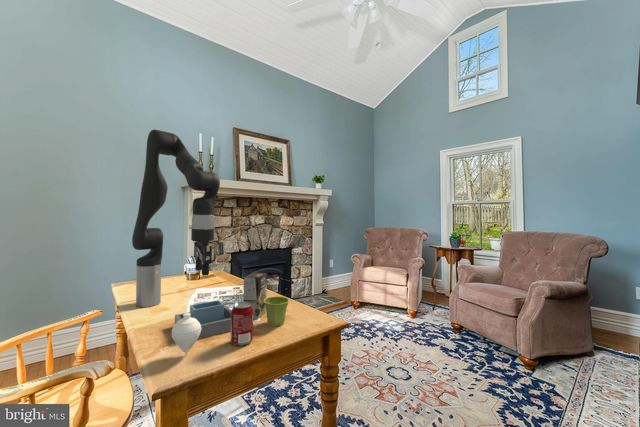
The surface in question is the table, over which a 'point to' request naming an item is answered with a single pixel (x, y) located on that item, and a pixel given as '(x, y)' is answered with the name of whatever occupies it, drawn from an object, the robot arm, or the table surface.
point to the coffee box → (256, 292)
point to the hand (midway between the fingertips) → (201, 272)
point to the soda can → (241, 323)
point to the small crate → (207, 311)
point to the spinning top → (186, 332)
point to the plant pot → (276, 310)
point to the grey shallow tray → (213, 324)
